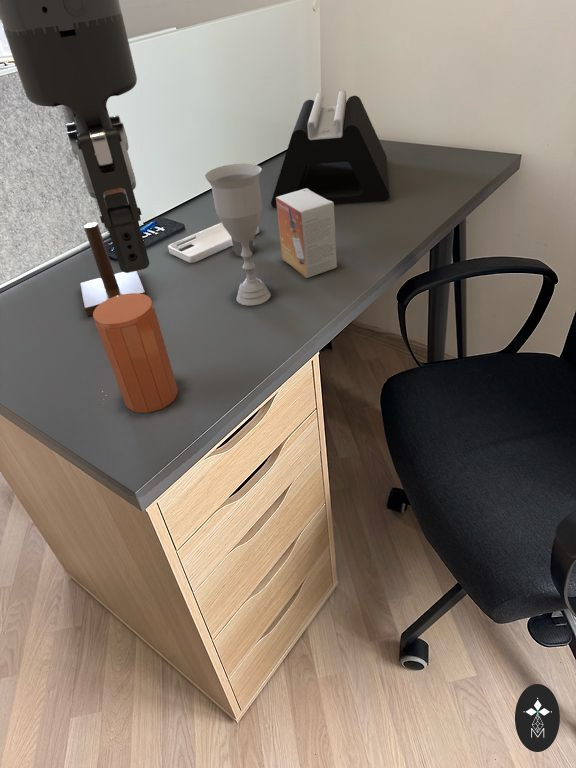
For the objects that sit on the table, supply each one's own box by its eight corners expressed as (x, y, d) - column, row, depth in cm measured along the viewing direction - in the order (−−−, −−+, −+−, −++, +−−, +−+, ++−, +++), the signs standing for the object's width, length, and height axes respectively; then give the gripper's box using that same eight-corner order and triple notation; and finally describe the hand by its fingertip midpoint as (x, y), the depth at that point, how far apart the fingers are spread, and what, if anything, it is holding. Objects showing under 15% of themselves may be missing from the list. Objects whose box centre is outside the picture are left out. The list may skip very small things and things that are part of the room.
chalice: (221, 306, 82) (196, 181, 71) (238, 284, 87) (217, 163, 76) (269, 310, 80) (250, 181, 69) (284, 286, 85) (268, 163, 73)
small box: (282, 260, 91) (274, 196, 85) (312, 250, 93) (306, 186, 87) (306, 279, 86) (299, 211, 79) (338, 268, 87) (334, 201, 81)
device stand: (386, 162, 124) (386, 86, 115) (389, 200, 106) (389, 114, 97) (285, 169, 127) (277, 96, 118) (271, 208, 110) (261, 126, 101)
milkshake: (225, 260, 94) (213, 201, 88) (235, 246, 98) (224, 188, 92) (251, 260, 93) (241, 200, 86) (260, 246, 97) (251, 188, 90)
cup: (129, 419, 64) (95, 329, 57) (122, 388, 69) (90, 302, 61) (182, 402, 65) (156, 313, 58) (171, 373, 70) (146, 287, 63)
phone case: (191, 264, 94) (260, 232, 101) (190, 256, 93) (259, 225, 100) (168, 253, 99) (235, 223, 106) (166, 245, 98) (234, 216, 105)
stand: (87, 317, 84) (60, 244, 77) (82, 291, 91) (57, 222, 83) (147, 300, 86) (126, 228, 79) (138, 276, 93) (118, 208, 85)
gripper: (6, 15, 41) (78, 227, 51) (-6, 33, 30) (88, 297, 40) (109, 0, 43) (160, 209, 53) (133, 13, 32) (191, 272, 42)
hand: (129, 247), depth 47 cm, fingers open, 8 cm apart
